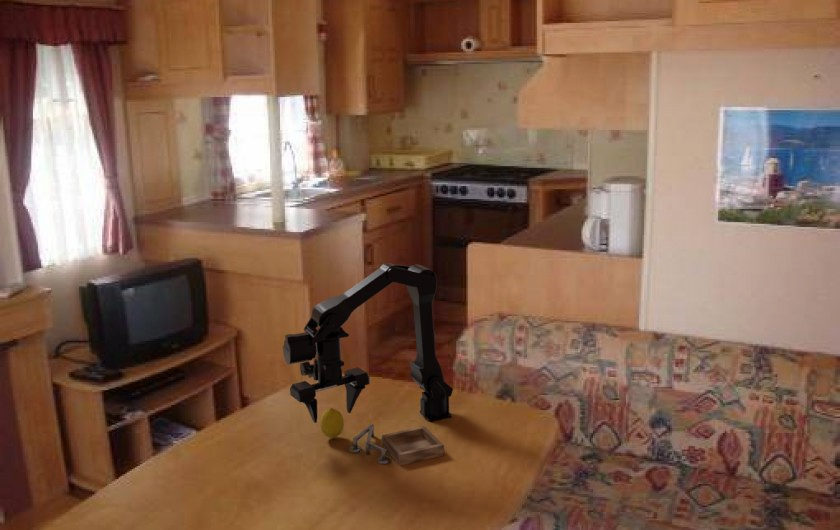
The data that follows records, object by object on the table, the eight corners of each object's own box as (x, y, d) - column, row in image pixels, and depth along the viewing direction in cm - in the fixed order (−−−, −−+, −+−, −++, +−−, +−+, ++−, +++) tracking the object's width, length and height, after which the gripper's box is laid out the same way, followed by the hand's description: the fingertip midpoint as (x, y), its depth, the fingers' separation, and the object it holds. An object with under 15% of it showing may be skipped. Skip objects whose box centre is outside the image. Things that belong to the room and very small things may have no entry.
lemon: (346, 433, 193) (344, 403, 191) (341, 444, 187) (340, 413, 185) (324, 433, 193) (322, 403, 191) (319, 443, 188) (317, 412, 186)
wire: (373, 434, 192) (372, 423, 191) (396, 461, 178) (396, 449, 178) (342, 441, 189) (341, 430, 188) (363, 469, 175) (363, 457, 175)
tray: (424, 435, 191) (424, 425, 190) (444, 455, 181) (443, 444, 180) (382, 445, 186) (381, 435, 186) (400, 465, 177) (399, 455, 176)
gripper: (347, 339, 197) (349, 397, 201) (278, 355, 187) (282, 415, 190) (369, 351, 188) (372, 411, 192) (298, 369, 178) (302, 432, 181)
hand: (332, 417), depth 189 cm, fingers open, 9 cm apart
